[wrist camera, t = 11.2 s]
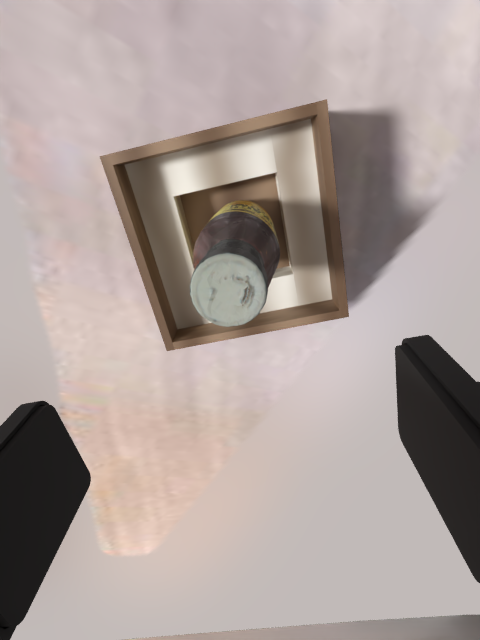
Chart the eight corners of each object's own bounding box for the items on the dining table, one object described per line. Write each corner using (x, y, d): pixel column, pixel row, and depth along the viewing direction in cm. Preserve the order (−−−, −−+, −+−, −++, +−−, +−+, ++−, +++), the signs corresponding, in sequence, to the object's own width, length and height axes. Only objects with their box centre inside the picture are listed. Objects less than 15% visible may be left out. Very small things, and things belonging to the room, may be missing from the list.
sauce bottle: (285, 228, 36) (326, 297, 18) (243, 272, 38) (242, 373, 20) (238, 182, 34) (229, 204, 16) (197, 230, 36) (148, 299, 18)
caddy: (310, 111, 32) (327, 99, 26) (332, 291, 40) (348, 316, 33) (126, 157, 34) (99, 156, 28) (179, 321, 41) (167, 350, 35)
